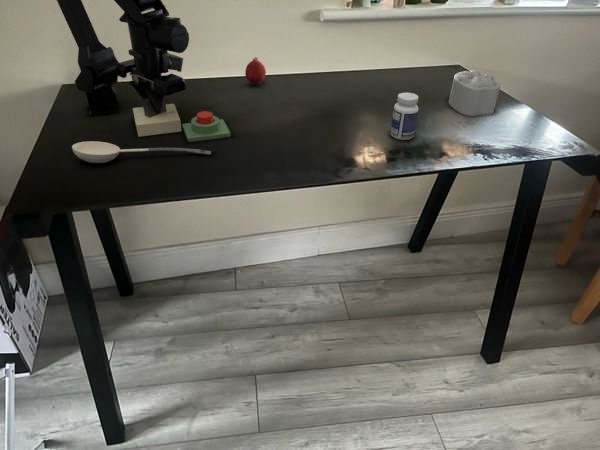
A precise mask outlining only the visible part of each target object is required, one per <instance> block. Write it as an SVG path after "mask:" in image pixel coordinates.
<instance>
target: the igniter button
mask: <svg viewBox="0 0 600 450" xmlns="http://www.w3.org/2000/svg"><path fill="white" fill-rule="evenodd" d="M213 115H214V114H213V112H211V111H208V110H207V111H205V110H203V111H200V112H197V114H196V116H197V121H198V123H199V124H204V125H205V124H210V123H213Z"/></svg>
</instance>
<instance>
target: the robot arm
mask: <svg viewBox="0 0 600 450" xmlns="http://www.w3.org/2000/svg"><path fill="white" fill-rule="evenodd" d="M113 1H114V2H115V4H117V6H118V7H119V8H120V9H121V10H122V11H123V14H122V15H121V16H120V17H119V18H118V20H119V22H122V23H124V24H125V23H126V24H127V27H128V33H129V39H130V40H129V41H130V45H131V49H128V55H129V56H131V57H133V58H131V59H128V60H125V61H121V62H119V61H118V59H117V57H116V55H115V52H114V50H113V48H112V47H111V46H108V47H106V46H105V45H104V44H103V43H101V41H100V40H99V37H98V35H97V33H96V31H95V29H94V26H93V23H92V21H91V19H90V16H89V15H88V12H87V10H86V7H85V6H84V3H83V1H82V0H56V2H57V4H58V7H59V9H60V11H61V13H62V15H63V17H64V20H65V21H66V24H67V26H68V28H69V30H70V33H71V35H72V37H73V40H74V41H75V44H76V46H77V48H78V52H77V64H78V67H79V70H80V72H79V74H78V76H76V78H75V80H74V83H75V85H76V88H77V90H79V91H82V92H85V97H86V99H87V104H88V108H89V115H90V116H99V115H109V114H117V113H118V108H119V102H118V97H117V92H116V88H113V85H114V84H117V83H118V79H119V77H120V78H122V79H126V78H127V76H128V74H129V75H130V76H131V80H130V81H129V84H130V85H131V86H132V87H133V89H134V90H135V91H136V92H137V94H138V95H139V96H140V98H141V100H142V99H145V98H149V100H150V102H151V104H152V107H153V109H154V111H155V112H156V113H157V114H158V113H160V112H161V108H162V103H163V99H164V96H165V97H167V96H171V95H173V94H176V93H180V92H182V91H185V90H186V89H187V85H186V80H185V78H183V76H180V75H177V74H174V73H169V70H170V71H177V72H178V73H182V70H183V65H184V64H183V63H184V57H181V56H178V55H176V54H183V53H184V52H185V51H186V50H187V48H188V47H189V43H190V33H189V32H188V29H187V28H186V26H185V25H183V24H182V22H181V18H180V17H175V16H174V17H172V16H171V17H170V12H169V11H168V9H167V8H166V5H165V4H164V3H163V1H162V0H113ZM169 52H172V53H169ZM173 53H176V54H173ZM167 73H169V74H167ZM163 74H164V75H163Z"/></svg>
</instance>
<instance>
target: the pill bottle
mask: <svg viewBox="0 0 600 450" xmlns="http://www.w3.org/2000/svg"><path fill="white" fill-rule="evenodd" d="M396 101H397V102H396V103H395V104H394V106H393V111H392V117H391V124H390V125H391V126H390V131H389V133H390V136H391V137H392V138H393V139H396V140H401V141H408V140H411V139H413V138H414V136H415V132H416V126H417V121H418V115H419V106H418V105H417V104H418V103H419V96H418V95H417V94H416V93H413V92H400V93H398V94H397V99H396Z"/></svg>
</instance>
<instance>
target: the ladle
mask: <svg viewBox="0 0 600 450" xmlns="http://www.w3.org/2000/svg"><path fill="white" fill-rule="evenodd" d="M71 149H72V152H73V154H74V155H75V156H76V157H77V158H79V159H80V160H82V161H84V162H87V163H91V164H92V163H93V164H106V163H109V162H110V161H113V160H115V159H116V158H117V157H118V156H119V154H120V153H135V152H181V153H182V152H183V153H190V154H191V153H192V154H200V155H206V156H207V155H208V156H211V155H212V151H211V150H204V149H200V148H199V149H198V148H184V147H147V148H128V149H127V148H125V149H123V148H122V149H121V147H119V146H118V145H117V144H113V143H110V142H104V141H93V140H89V141H81V142H80V141H79V142H77V143H74V144H73V145H71Z"/></svg>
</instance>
